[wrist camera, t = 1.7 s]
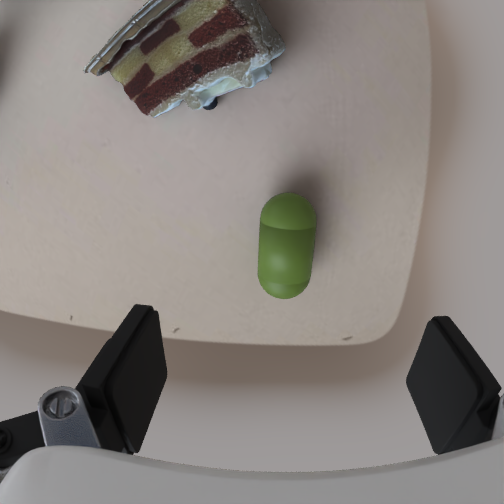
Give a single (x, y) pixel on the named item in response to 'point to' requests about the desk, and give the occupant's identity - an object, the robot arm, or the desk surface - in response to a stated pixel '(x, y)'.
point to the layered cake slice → (189, 52)
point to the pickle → (286, 245)
